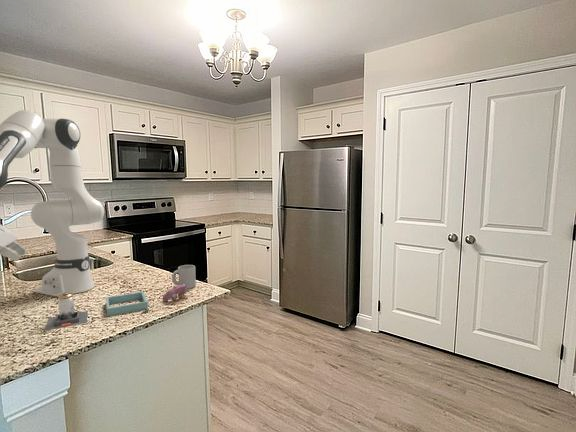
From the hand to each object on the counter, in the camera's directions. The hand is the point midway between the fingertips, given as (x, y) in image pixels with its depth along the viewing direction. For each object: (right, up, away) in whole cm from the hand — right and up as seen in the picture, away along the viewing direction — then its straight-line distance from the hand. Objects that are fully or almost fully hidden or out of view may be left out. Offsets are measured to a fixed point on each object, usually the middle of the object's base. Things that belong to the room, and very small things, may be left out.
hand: (22, 256), depth 96 cm
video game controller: (+36, -21, +30) cm, 52 cm away
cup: (+35, -20, +45) cm, 60 cm away
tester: (+9, -23, +7) cm, 26 cm away
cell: (+9, -22, +7) cm, 25 cm away
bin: (+22, -22, +19) cm, 37 cm away
